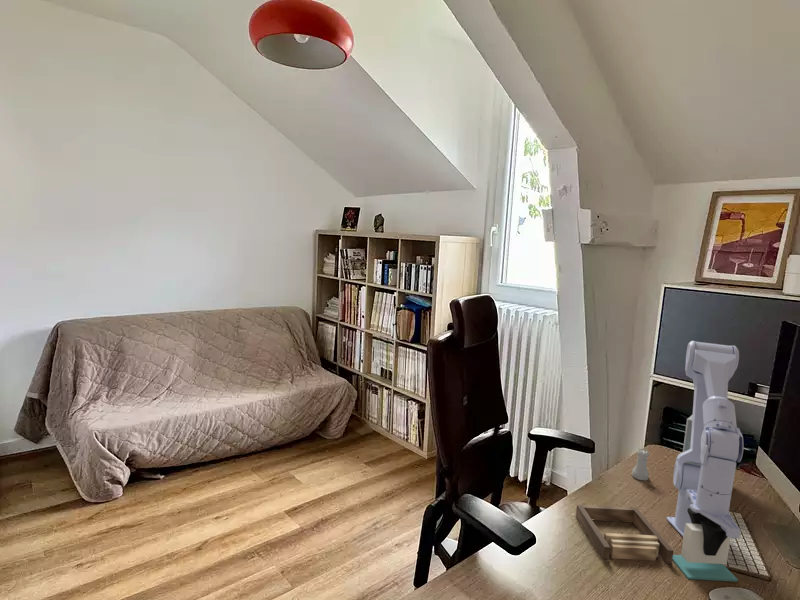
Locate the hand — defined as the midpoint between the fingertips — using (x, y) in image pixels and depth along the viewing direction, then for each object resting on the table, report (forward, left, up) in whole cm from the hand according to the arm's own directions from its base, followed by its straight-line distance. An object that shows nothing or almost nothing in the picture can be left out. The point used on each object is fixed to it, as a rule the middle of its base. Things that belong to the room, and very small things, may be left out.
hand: (705, 549), depth 102 cm
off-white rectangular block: (0, 0, -2) cm, 2 cm away
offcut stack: (+13, -4, -4) cm, 14 cm away
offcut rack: (+13, -10, -4) cm, 17 cm away
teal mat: (0, 0, -4) cm, 4 cm away
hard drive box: (-22, -37, -4) cm, 43 cm away
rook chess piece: (-6, -39, -4) cm, 40 cm away
